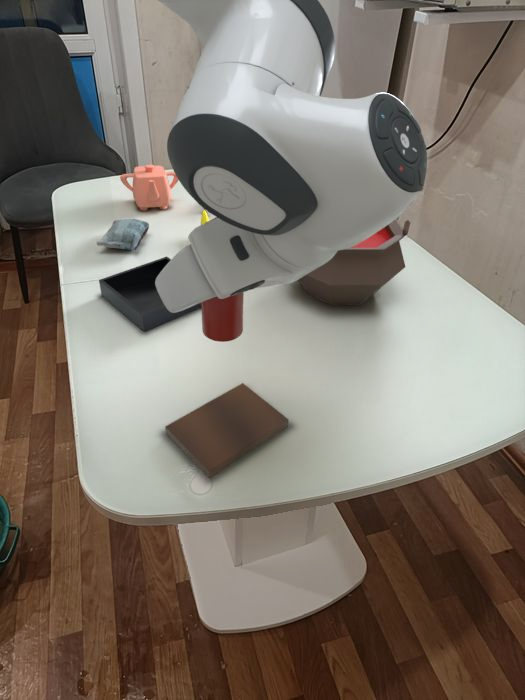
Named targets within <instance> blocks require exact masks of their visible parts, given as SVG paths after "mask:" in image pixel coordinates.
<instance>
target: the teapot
mask: <svg viewBox="0 0 525 700" xmlns="http://www.w3.org/2000/svg"><path fill="white" fill-rule="evenodd" d="M168 176H169V177H170V176H173V179H172V181H171V183H170V180H169V179H168ZM128 178H132V186H131V184H130V183H129V181H128ZM119 179H120V182H121V183H122V184H123V185H124V186H125V187H126V188H127V189H128V190H129V191H130V192H132V196H133V199H134V202H135V203H136V206H137V207H138V208H139V210H140V211H148V210H149V208H159V209H160V210H167V209H168V206H169V205H170V204H171V198H172V196H171V195H172V192H171V190H172V189H173V188H174V187H176V185H177V183H178V182H179V180H178V178H177V176H176V174H175V172H174V171H166V170H165V167H164V166H163V165H154V164H150V163H149V164H145V165H139V166H135V167H134V169H133V173H122V174H121V175H120V176H119Z"/></svg>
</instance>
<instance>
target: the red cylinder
mask: <svg viewBox="0 0 525 700" xmlns="http://www.w3.org/2000/svg"><path fill="white" fill-rule="evenodd" d="M244 293H245V292H242V293H239V294H236V295H234V296H229V297H226V298H224V299H220V298H218V296H216V297H214V298H211V299H208V300H206V301H203V302H201V308H200V309H201V327H202V328H201V329H202V334H203V336H205V337H206V338H207V339H209V340H211V341H214V342H217V343H218V342H219V343H225V342H231V341H234V340H237V339H239V338H240V337H241V335H242V334H243V332H244Z"/></svg>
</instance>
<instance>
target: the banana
mask: <svg viewBox="0 0 525 700" xmlns="http://www.w3.org/2000/svg"><path fill="white" fill-rule="evenodd" d="M200 217H201V218H200V225H202V224H204V223H206V222H208V221H210V220H211V219H210V218H209V215H208V213H207V210H205V209H203V210H202V212H201V216H200Z"/></svg>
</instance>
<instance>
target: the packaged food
mask: <svg viewBox="0 0 525 700" xmlns="http://www.w3.org/2000/svg"><path fill="white" fill-rule="evenodd" d="M149 228H150V224H149V222H148V221H145V220H140V219H137V218H122V219H116V220H113V222H112V225H111V226H110V227H109V229H108V230H107V231H106V233H105V234H104V235H103V236H102V238H101V239H100V240H99V242H98V241H97V242H96V245H97V246H99V247H105V248H110V249H117V250H118V249H119V250H127V251H128V250H129V251H136V250H138V247H139V246H140V244H141V241H143V239H144V237H145V236H146V234H147V233H148V231H149Z"/></svg>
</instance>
